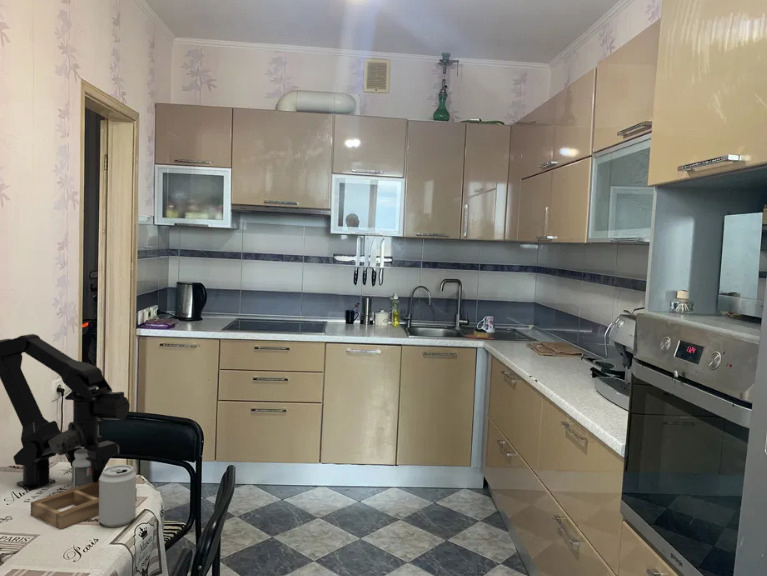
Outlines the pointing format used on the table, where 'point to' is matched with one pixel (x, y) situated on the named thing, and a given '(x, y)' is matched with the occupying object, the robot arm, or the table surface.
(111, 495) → the can
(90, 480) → the pill bottle
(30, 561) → the table surface
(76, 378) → the robot arm
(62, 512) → the wooden divided tray
